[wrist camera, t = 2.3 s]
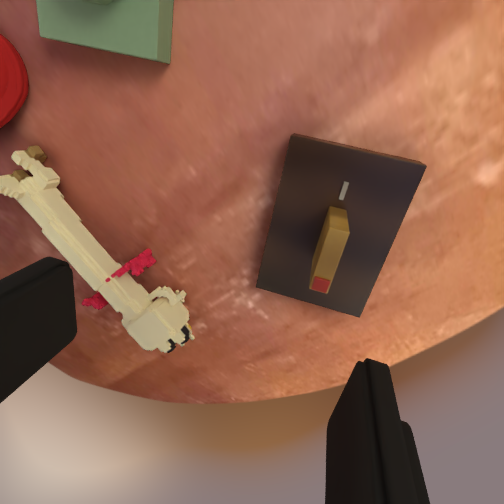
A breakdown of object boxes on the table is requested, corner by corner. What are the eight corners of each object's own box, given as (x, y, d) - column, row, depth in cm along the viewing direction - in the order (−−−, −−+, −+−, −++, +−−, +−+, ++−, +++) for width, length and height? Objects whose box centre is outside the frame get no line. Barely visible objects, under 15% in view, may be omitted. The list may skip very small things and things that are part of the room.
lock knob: (329, 205, 25) (329, 228, 20) (346, 209, 24) (350, 233, 20) (312, 259, 27) (308, 290, 22) (328, 263, 27) (327, 296, 22)
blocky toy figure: (23, 191, 35) (166, 353, 38) (-70, 208, 27) (119, 410, 30) (63, 130, 31) (221, 317, 33) (-34, 130, 23) (183, 374, 26)
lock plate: (293, 133, 25) (290, 135, 23) (420, 161, 24) (428, 166, 22) (259, 277, 31) (255, 288, 29) (358, 305, 30) (359, 318, 28)
